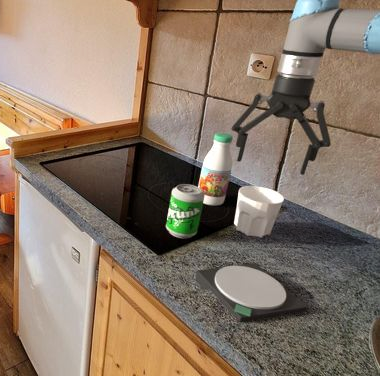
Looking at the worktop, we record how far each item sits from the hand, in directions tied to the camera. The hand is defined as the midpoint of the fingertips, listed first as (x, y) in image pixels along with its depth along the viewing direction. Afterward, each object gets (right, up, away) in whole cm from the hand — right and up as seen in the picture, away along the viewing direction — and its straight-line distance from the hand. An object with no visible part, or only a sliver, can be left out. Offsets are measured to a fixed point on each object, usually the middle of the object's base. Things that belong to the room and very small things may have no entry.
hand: (269, 166), depth 97 cm
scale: (-14, -27, -17) cm, 35 cm away
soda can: (-20, -17, +5) cm, 26 cm away
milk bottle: (-5, -9, +22) cm, 25 cm away
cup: (-1, -16, +7) cm, 18 cm away
